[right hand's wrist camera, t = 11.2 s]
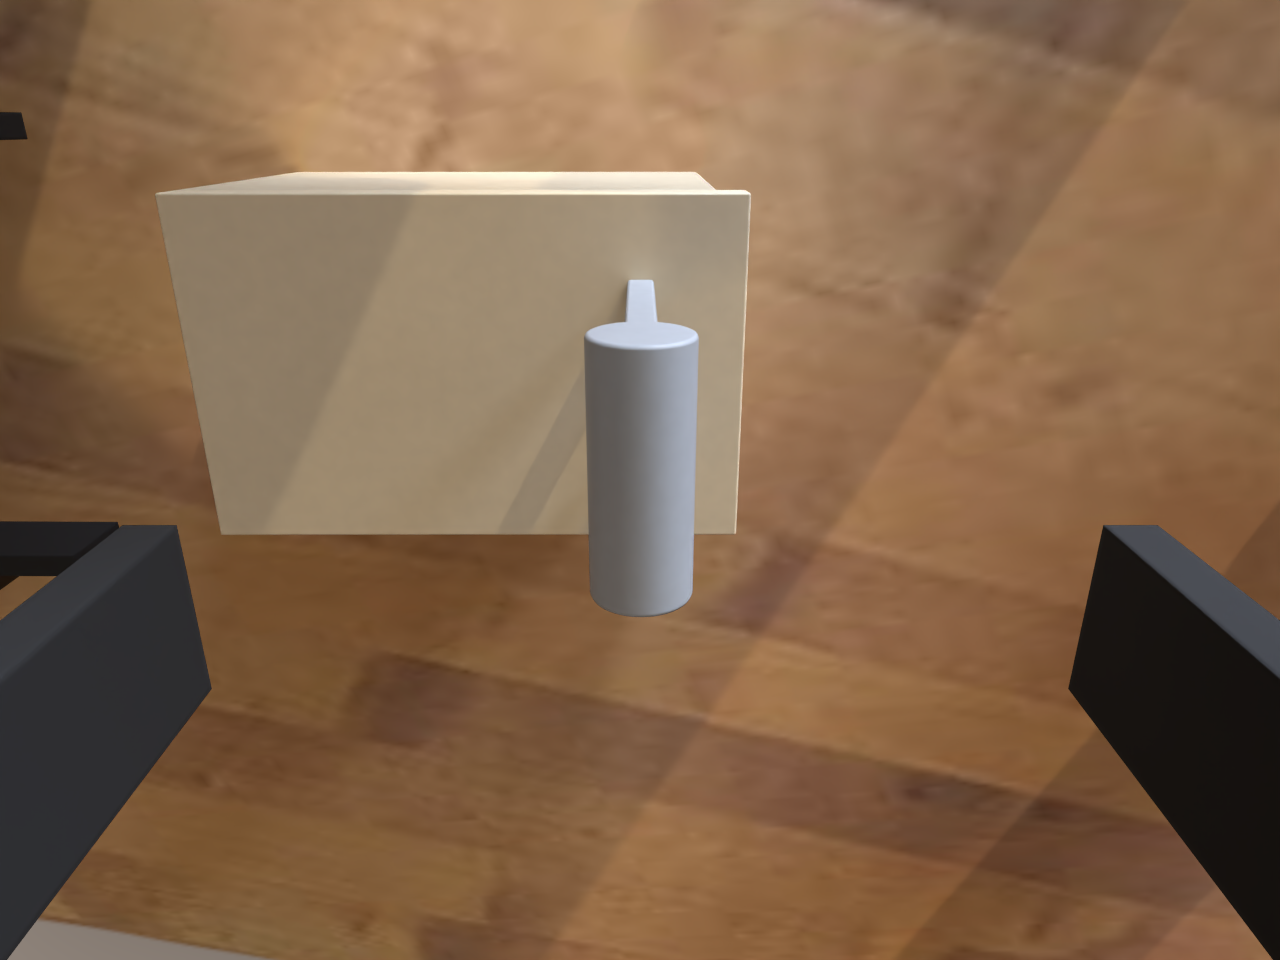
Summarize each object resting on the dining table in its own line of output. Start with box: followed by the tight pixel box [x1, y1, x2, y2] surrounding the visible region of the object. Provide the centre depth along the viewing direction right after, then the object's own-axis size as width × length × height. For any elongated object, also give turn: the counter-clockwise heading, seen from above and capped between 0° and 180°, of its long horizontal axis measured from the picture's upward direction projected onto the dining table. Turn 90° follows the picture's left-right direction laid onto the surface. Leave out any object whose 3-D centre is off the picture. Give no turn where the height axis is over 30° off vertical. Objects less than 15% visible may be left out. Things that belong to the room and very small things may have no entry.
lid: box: [155, 190, 751, 617], centre depth 21 cm, size 15×10×9 cm, turn 90°
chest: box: [181, 172, 715, 190], centre depth 30 cm, size 14×10×9 cm, turn 90°
